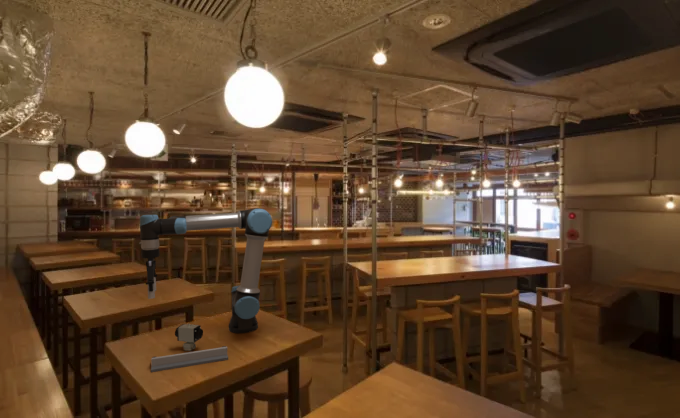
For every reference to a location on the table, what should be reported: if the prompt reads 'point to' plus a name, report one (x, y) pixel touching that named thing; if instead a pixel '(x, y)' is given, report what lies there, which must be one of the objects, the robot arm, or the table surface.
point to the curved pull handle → (188, 359)
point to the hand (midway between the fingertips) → (152, 294)
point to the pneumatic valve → (189, 335)
